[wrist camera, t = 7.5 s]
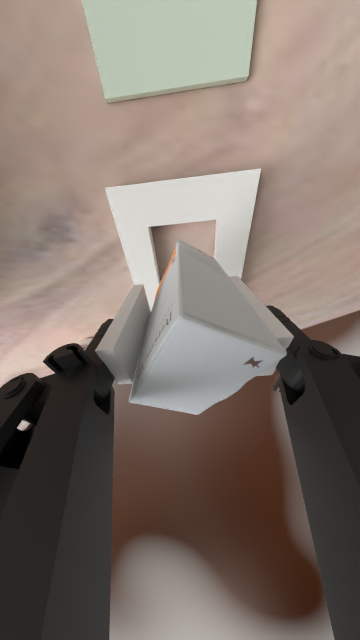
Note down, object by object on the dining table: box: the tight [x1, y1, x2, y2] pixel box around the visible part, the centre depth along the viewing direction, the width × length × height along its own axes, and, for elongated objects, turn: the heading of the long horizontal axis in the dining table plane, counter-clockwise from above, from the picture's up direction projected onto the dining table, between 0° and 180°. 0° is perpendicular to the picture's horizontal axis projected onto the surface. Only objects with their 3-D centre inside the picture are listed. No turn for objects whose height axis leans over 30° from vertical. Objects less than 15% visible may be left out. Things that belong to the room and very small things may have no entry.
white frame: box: [105, 168, 261, 311], centre depth 21 cm, size 17×17×2 cm
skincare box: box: [129, 239, 287, 415], centre depth 10 cm, size 6×4×12 cm
